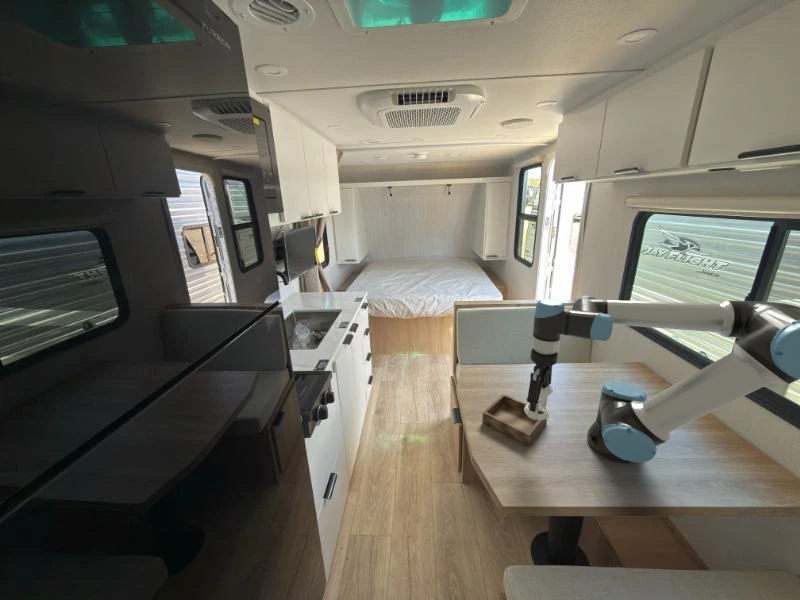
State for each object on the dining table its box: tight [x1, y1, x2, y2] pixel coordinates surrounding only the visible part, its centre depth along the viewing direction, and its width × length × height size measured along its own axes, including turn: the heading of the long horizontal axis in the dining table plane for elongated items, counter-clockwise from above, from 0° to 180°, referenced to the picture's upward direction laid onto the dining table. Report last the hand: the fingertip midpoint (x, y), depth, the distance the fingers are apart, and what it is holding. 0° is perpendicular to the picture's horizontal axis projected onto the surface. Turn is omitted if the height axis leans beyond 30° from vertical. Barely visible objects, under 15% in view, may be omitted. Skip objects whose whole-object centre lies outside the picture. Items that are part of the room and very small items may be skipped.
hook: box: [524, 385, 554, 420], centre depth 99 cm, size 8×12×7 cm
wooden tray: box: [482, 393, 548, 448], centre depth 117 cm, size 18×16×5 cm
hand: (537, 411), depth 101 cm, fingers closed on hook, 8 cm apart
